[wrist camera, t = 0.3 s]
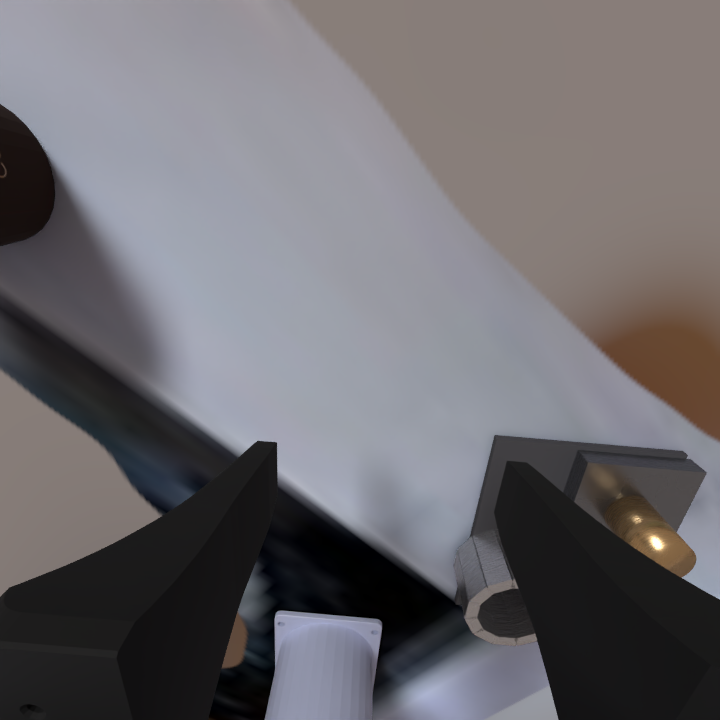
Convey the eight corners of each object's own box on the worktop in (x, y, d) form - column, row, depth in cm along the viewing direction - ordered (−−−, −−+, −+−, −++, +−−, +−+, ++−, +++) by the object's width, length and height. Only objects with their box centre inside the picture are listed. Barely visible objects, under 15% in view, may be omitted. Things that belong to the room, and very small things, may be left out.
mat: (606, 612, 28) (610, 618, 28) (454, 599, 28) (455, 604, 28) (682, 451, 23) (687, 455, 22) (494, 435, 23) (496, 439, 22)
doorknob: (650, 542, 25) (706, 613, 21) (548, 534, 25) (584, 602, 21) (690, 459, 22) (763, 519, 18) (577, 449, 23) (624, 507, 18)
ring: (528, 593, 27) (550, 649, 24) (448, 586, 27) (458, 640, 24) (549, 533, 25) (576, 584, 22) (462, 525, 25) (475, 576, 22)
